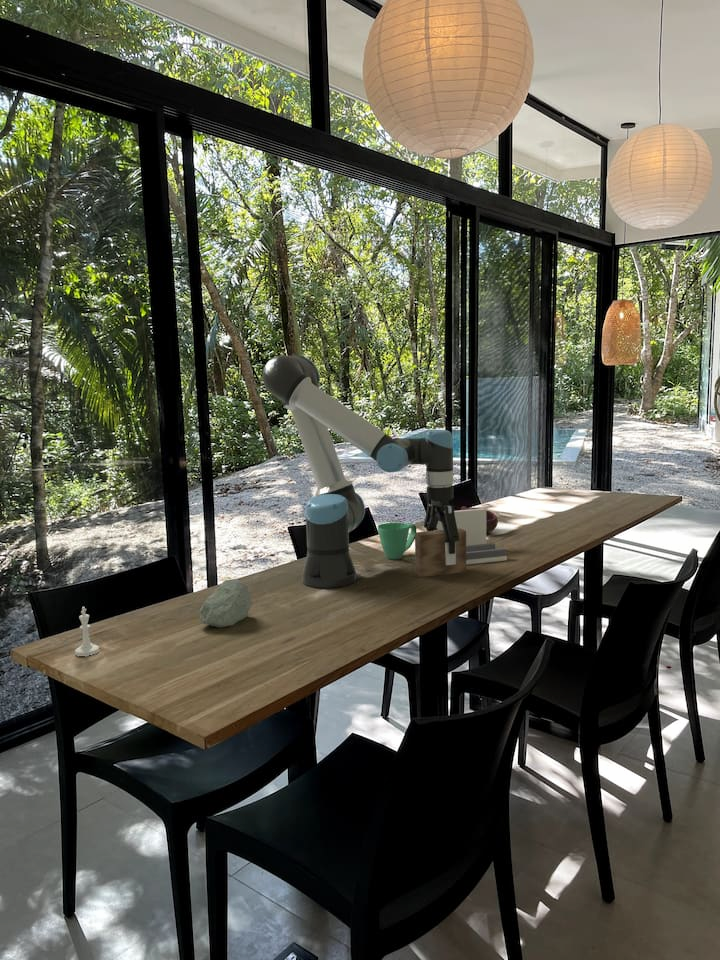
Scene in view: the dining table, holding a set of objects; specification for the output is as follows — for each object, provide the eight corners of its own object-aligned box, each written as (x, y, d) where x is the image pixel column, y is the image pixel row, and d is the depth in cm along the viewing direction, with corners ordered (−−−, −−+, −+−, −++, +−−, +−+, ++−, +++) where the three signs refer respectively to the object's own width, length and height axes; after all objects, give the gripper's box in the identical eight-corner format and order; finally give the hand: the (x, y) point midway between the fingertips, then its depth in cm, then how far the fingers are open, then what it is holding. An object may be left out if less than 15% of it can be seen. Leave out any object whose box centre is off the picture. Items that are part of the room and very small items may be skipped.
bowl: (504, 531, 254) (504, 509, 253) (488, 538, 244) (488, 515, 243) (463, 526, 264) (463, 505, 262) (446, 533, 253) (446, 511, 252)
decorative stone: (241, 608, 178) (214, 580, 175) (267, 600, 170) (240, 571, 167) (212, 648, 169) (184, 619, 166) (239, 642, 162) (210, 612, 159)
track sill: (454, 565, 211) (454, 522, 209) (434, 553, 226) (434, 512, 224) (506, 560, 216) (507, 517, 214) (483, 548, 231) (483, 508, 229)
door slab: (420, 577, 201) (419, 535, 199) (415, 573, 205) (414, 532, 203) (466, 572, 204) (466, 531, 203) (460, 568, 208) (460, 528, 206)
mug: (394, 563, 216) (393, 530, 214) (371, 557, 223) (370, 526, 221) (426, 553, 226) (426, 522, 224) (403, 548, 233) (403, 518, 231)
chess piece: (102, 647, 154) (98, 602, 153) (95, 656, 150) (91, 610, 148) (79, 648, 154) (75, 603, 153) (71, 657, 149) (67, 611, 148)
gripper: (471, 490, 190) (471, 568, 193) (435, 478, 214) (437, 547, 217) (444, 493, 188) (446, 571, 191) (412, 480, 212) (413, 550, 215)
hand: (441, 558), depth 204 cm, fingers open, 13 cm apart
